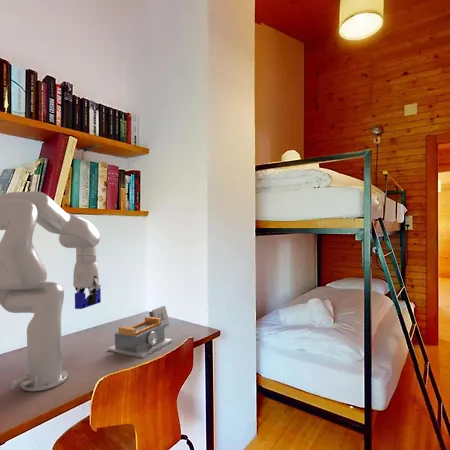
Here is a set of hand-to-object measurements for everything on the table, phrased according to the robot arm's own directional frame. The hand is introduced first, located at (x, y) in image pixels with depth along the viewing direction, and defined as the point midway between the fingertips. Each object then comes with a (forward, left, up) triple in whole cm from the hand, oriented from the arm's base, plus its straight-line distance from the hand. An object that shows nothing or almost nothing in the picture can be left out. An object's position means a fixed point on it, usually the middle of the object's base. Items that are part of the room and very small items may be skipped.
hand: (86, 303), depth 128 cm
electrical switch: (+34, -9, -18) cm, 40 cm away
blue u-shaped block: (0, 0, -1) cm, 1 cm away
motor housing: (+10, -19, -18) cm, 28 cm away
